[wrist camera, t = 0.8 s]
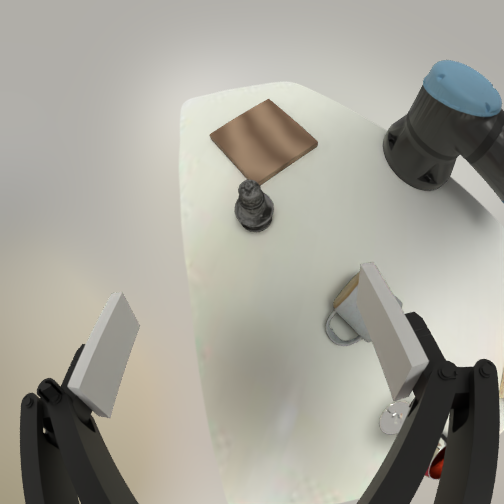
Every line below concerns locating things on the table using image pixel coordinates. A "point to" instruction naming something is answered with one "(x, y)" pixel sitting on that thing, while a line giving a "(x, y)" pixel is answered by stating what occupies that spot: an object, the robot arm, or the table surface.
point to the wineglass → (392, 425)
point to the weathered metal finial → (253, 207)
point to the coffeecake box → (502, 387)
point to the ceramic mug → (350, 313)
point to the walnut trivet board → (263, 141)
